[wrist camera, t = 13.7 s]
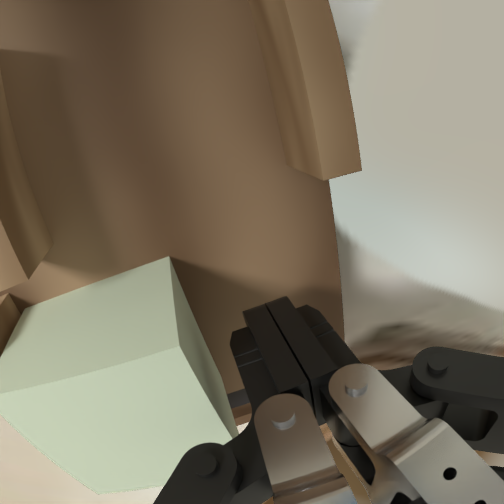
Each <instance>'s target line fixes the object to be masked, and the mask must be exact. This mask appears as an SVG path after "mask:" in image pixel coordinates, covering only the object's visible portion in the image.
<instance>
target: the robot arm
mask: <svg viewBox="0 0 504 504" xmlns="http://www.w3.org/2000/svg"><path fill="white" fill-rule="evenodd" d="M242 313H243V317H244V320H245V323H246V326H247V327H244V328H241V329H238V330H236V331H233V332H232V335H231V339H230V344H229V345H230V347H231V350H232V353H233V356H234V359H235V362H236V365H237V368H238V370H239V373H240V376H241V379H242V382H243V385H244V387H245V390H246V393H247V396H248V398H249V401H250V404H251V407H252V416H251V419H250V422H249V424H248V425H247V427H246V428H245V429H244V430H243V431H242V432H241V433H240V434H239V435H238V436H236V437H235V438H233V439H232V440H230V441H229V442H227V443H226V444H224V445H222V444H219V443H212V442H209V443H202V444H199V445H196V446H194V447H192V448H191V449H189V450H188V451H187V452H186V453H185V454H184V455H183V457H182V458H181V460H180V461H179V463H178V465H177V466H176V468H175V470H174V471H173V473H172V474H171V476H170V478H169V479H168V481H167V483H166V484H165V486H164V487H163V489H162V490H161V492H160V494H159V495H158V497H157V498H156V500H155V502H154V503H153V504H262V503H263V502H265V501H266V500H268V499H269V498H271V497H272V496H273V501H274V504H357V502H356V500H355V498H354V495H353V493H352V491H351V488H350V486H349V484H348V482H347V480H346V479H345V477H344V476H343V474H341V473H340V472H339V470H338V468H337V466H336V464H335V462H334V459H333V457H332V455H331V452H330V450H329V448H328V445H327V443H326V441H325V439H324V436H323V434H322V432H321V429H320V427H319V426H320V425H322V424H325V423H327V425H328V427H329V428H330V430H331V432H332V438H333V442H334V444H335V445H336V447H337V449H338V450H339V452H340V453H341V454H342V456H343V457H344V459H345V460H346V461H347V463H348V464H349V466H350V467H351V469H352V470H353V472H354V473H355V474H356V476H357V477H358V479H359V480H360V481H361V483H362V484H363V485H364V487H365V489H366V491H367V493H368V496H369V499H370V501H371V503H372V504H504V467H498V466H489V465H487V464H486V462H485V461H484V460H483V459H482V458H481V457H480V456H479V455H478V454H477V453H476V452H475V451H474V450H478V451H485V452H492V453H499V454H504V357H497V356H491V355H485V354H479V353H473V352H467V351H461V350H455V349H450V348H444V347H430V348H426V349H424V350H422V351H421V352H419V353H418V354H417V356H416V357H415V358H414V361H413V364H412V365H410V366H406V367H401V368H397V369H392V370H383V371H382V370H377V369H375V368H374V367H372V366H369V365H366V364H362V363H361V362H360V361H359V360H358V359H357V358H356V356H355V355H354V354H353V353H352V351H351V350H350V349H349V348H348V346H347V345H346V344H345V342H344V341H343V340H342V339H341V337H340V336H339V335H338V334H337V332H336V331H334V329H333V327H332V326H331V325H330V324H329V323H328V322H327V320H326V319H325V317H324V316H323V315H322V314H321V312H320V311H319V310H317V309H315V308H313V307H311V306H309V305H307V304H306V305H304V306H301V307H298V308H295V307H294V305H293V304H292V302H291V301H290V300H289V298H288V297H287V296H284V297H281V298H278V299H275V300H273V301H270V302H267V303H265V305H264V304H262V305H259V306H256V307H253V308H250V309H248V310H245V311H242Z"/></svg>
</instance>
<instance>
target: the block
mask: <svg viewBox="0 0 504 504" xmlns="http://www.w3.org/2000/svg"><path fill="white" fill-rule="evenodd" d="M0 415H1V416H2V417H3V418H4V419H5V420H6V421H7V422H8V423H9V424H10V425H11V426H12V427H13V428H14V429H15V430H16V431H17V432H19V433H20V434H21V435H22V436H23V437H24V438H25V439H26V440H27V441H28V442H30V443H31V444H32V445H33V446H34V447H35V448H36V449H38V450H39V451H40V452H41V453H42V454H44V455H45V456H46V457H47V458H48V459H50V460H51V461H52V462H53V463H55V464H56V465H57V466H59V467H60V468H61V469H63V470H64V471H65V472H67V473H68V474H69V475H71V476H72V477H73V478H75V479H76V480H78V481H79V482H80V483H82V484H83V485H85V486H86V487H88V488H89V489H91V490H92V491H94V492H95V493H97V494H107V493H117V492H125V491H133V490H140V489H147V488H153V487H159V486H164V485H165V484H166V483H167V481H168V479H169V478H170V476H171V474H172V473H173V471H174V470H175V468H176V466H177V465H178V463H179V461H180V460H181V458H182V457H183V455H184V454H185V453H186V452H187V451H188V450H189V449H191V448H192V447H194V446H196V445H199V444H202V443H209V442H212V443H219V444H222V445H224V444H226V443H227V442H229V441H230V440H232V439H233V438H235V437H236V436H238V435H239V433H238V430H237V427H236V423H235V420H234V417H233V414H232V411H231V407H230V404H229V401H228V398H227V394H226V391H225V388H224V384H223V381H222V378H221V375H220V373H219V371H218V369H217V367H216V365H215V362H214V360H213V358H212V356H211V354H210V352H209V349H208V347H207V345H206V343H205V341H204V338H203V336H202V334H201V332H200V329H199V327H198V325H197V322H196V320H195V318H194V316H193V313H192V311H191V309H190V306H189V304H188V301H187V299H186V297H185V294H184V292H183V289H182V287H181V285H180V282H179V280H178V277H177V275H176V272H175V270H174V267H173V265H172V262H171V260H170V257H169V256H168V257H165V258H163V259H160V260H157V261H154V262H151V263H148V264H145V265H143V266H140V267H137V268H134V269H131V270H128V271H126V272H123V273H120V274H117V275H115V276H112V277H109V278H106V279H103V280H101V281H98V282H95V283H92V284H90V285H87V286H84V287H81V288H79V289H76V290H73V291H71V292H68V293H65V294H62V295H60V296H57V297H54V298H52V299H49V300H46V301H44V302H41V303H38V304H36V305H33V306H31V307H28V308H25V309H24V311H23V313H22V315H21V317H20V319H19V321H18V323H17V325H16V326H15V328H14V330H13V332H12V334H11V336H10V338H9V340H8V343H7V345H6V347H5V349H4V351H3V353H2V355H1V357H0Z"/></svg>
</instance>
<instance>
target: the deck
mask: <svg viewBox="0 0 504 504" xmlns="http://www.w3.org/2000/svg"><path fill="white" fill-rule="evenodd" d="M358 171H362V168H361V160H360V153H359V145H358V138H357V132H356V125H355V118H354V112H353V107H352V101H351V95H350V90H349V85H348V80H347V75H346V70H345V65H344V61H343V56H342V52H341V48H340V43H339V39H338V35H337V31H336V27H335V23H334V20H333V16H332V12H331V9H330V5H329V2H328V0H0V357H1V355H2V353H3V351H4V349H5V347H6V345H7V343H8V340H9V338H10V336H11V334H12V332H13V330H14V328H15V326H16V325H17V323H18V321H19V319H20V317H21V315H22V313H23V311H24V309H25V308H28V307H31V306H33V305H36V304H38V303H41V302H44V301H46V300H49V299H52V298H54V297H57V296H60V295H62V294H65V293H68V292H71V291H73V290H76V289H79V288H81V287H84V286H87V285H90V284H92V283H95V282H98V281H101V280H103V279H106V278H109V277H112V276H115V275H117V274H120V273H123V272H126V271H128V270H131V269H134V268H137V267H140V266H143V265H145V264H148V263H151V262H154V261H157V260H160V259H163V258H165V257H168V256H169V257H170V260H171V262H172V265H173V267H174V270H175V272H176V275H177V277H178V280H179V282H180V285H181V287H182V289H183V292H184V294H185V297H186V299H187V301H188V304H189V306H190V309H191V311H192V313H193V316H194V318H195V320H196V322H197V325H198V327H199V329H200V332H201V334H202V336H203V338H204V341H205V343H206V345H207V347H208V349H209V352H210V354H211V356H212V358H213V360H214V362H215V365H216V367H217V369H218V371H219V373H220V375H221V378H222V381H223V384H224V388H225V391H226V394H227V398H228V401H229V404H230V407H231V411H232V414H233V417H234V420H235V423H236V426H238V425H241V424H244V423H247V422H250V419H251V416H252V407H251V404H250V401H249V398H248V396H247V393H246V390H245V387H244V385H243V382H242V379H241V376H240V373H239V370H238V368H237V365H236V362H235V359H234V356H233V353H232V350H231V347H230V345H229V344H230V339H231V335H232V332H233V331H236V330H238V329H241V328H244V327H247V326H246V323H245V320H244V317H243V313H242V311H245V310H248V309H250V308H253V307H256V306H259V305H262V304H264V305H265V303H267V302H270V301H273V300H275V299H278V298H281V297H284V296H287V297H288V298H289V300H290V301H291V302H292V304H293V305H294V307H295V308H298V307H301V306H304V305H306V304H307V305H309V306H311V307H313V308H315V309H317V310H319V311H320V312H321V314H322V315H323V316H324V317H325V319H326V320H327V322H328V323H329V324H330V325H331V326H332V327H333V329H334V331H336V332H337V334H338V335H339V336H340V337H341V339H342V340H343V341H344V342H345V340H344V322H343V307H342V293H341V281H340V270H339V259H338V250H337V240H336V232H335V223H334V215H333V207H332V201H331V193H330V186H329V179H332V178H335V177H339V176H343V175H347V174H350V173H354V172H358Z"/></svg>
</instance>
